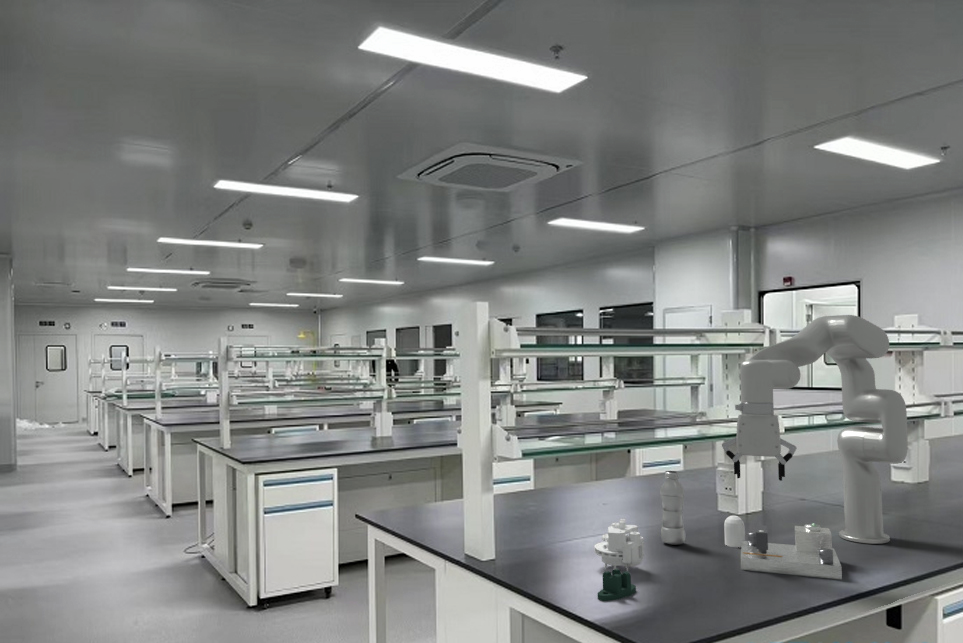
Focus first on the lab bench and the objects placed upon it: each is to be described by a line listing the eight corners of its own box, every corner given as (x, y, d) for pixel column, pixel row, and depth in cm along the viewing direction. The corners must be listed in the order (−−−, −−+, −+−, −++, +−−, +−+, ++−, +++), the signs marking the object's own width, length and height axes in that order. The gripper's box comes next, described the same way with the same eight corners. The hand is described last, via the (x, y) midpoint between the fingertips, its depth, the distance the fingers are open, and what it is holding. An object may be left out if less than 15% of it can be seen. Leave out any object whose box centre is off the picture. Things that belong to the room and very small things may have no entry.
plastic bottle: (666, 539, 194) (665, 469, 195) (689, 543, 189) (687, 471, 190) (657, 544, 189) (655, 472, 190) (680, 548, 184) (678, 474, 185)
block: (756, 547, 172) (755, 524, 172) (767, 548, 171) (766, 524, 171) (756, 556, 164) (755, 531, 165) (768, 557, 163) (767, 532, 164)
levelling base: (742, 552, 180) (740, 515, 181) (834, 560, 172) (833, 521, 173) (740, 569, 166) (739, 529, 166) (841, 579, 157) (840, 537, 158)
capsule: (735, 541, 191) (734, 512, 191) (749, 546, 186) (748, 516, 187) (720, 543, 189) (719, 514, 190) (734, 548, 184) (733, 518, 185)
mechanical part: (608, 559, 175) (607, 513, 176) (651, 568, 167) (650, 519, 168) (585, 570, 166) (584, 521, 167) (630, 580, 159) (629, 529, 159)
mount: (607, 603, 144) (606, 579, 144) (592, 597, 148) (591, 574, 148) (641, 592, 150) (641, 569, 151) (626, 587, 154) (625, 565, 154)
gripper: (720, 409, 169) (721, 479, 168) (796, 411, 163) (798, 483, 162) (721, 408, 176) (723, 474, 175) (794, 409, 170) (796, 478, 169)
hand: (759, 478), depth 169 cm, fingers open, 9 cm apart
